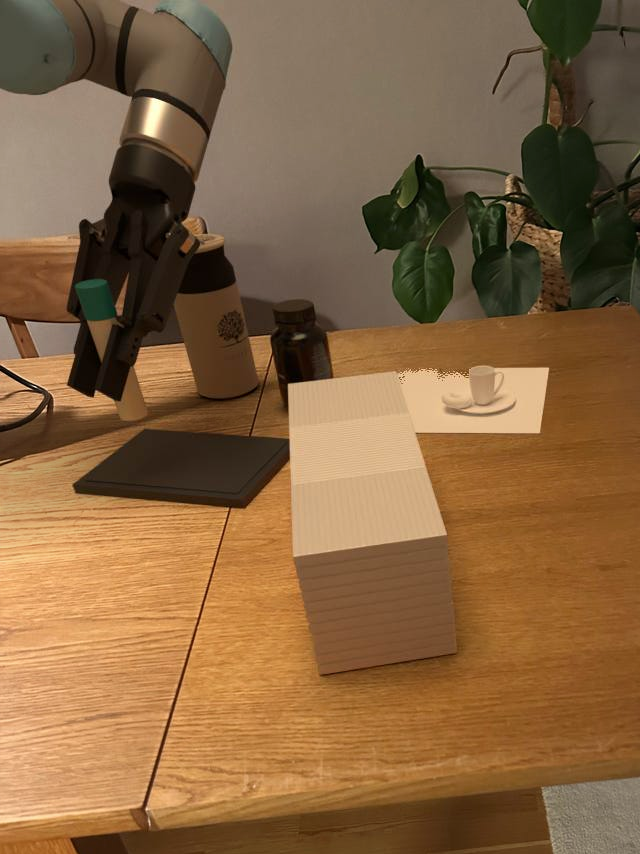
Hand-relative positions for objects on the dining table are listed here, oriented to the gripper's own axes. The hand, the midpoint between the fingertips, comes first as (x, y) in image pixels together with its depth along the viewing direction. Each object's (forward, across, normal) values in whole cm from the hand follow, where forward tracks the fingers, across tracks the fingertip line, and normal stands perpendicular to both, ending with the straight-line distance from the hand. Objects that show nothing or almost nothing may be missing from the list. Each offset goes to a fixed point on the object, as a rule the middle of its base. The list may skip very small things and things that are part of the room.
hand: (94, 392), depth 81 cm
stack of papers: (+9, -30, -7) cm, 32 cm away
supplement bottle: (-11, -5, -27) cm, 30 cm away
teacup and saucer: (-16, -23, -32) cm, 43 cm away
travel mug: (-11, +8, -28) cm, 31 cm away
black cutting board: (+3, -2, -13) cm, 14 cm away
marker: (0, 0, -6) cm, 6 cm away
